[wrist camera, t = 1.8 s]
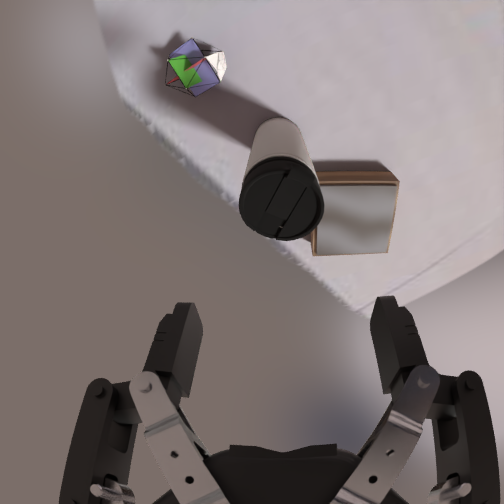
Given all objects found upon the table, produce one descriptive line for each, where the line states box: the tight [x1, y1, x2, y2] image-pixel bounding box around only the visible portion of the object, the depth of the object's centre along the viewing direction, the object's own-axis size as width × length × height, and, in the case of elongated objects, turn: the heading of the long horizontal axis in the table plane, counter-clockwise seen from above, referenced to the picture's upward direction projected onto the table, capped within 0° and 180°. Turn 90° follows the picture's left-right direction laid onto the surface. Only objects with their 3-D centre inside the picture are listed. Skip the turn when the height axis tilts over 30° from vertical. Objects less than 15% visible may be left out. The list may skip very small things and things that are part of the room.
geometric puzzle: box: [165, 37, 227, 97], centre depth 28 cm, size 7×7×8 cm
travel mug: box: [239, 118, 325, 241], centre depth 28 cm, size 6×7×20 cm
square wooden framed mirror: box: [311, 171, 400, 256], centre depth 39 cm, size 12×12×4 cm
